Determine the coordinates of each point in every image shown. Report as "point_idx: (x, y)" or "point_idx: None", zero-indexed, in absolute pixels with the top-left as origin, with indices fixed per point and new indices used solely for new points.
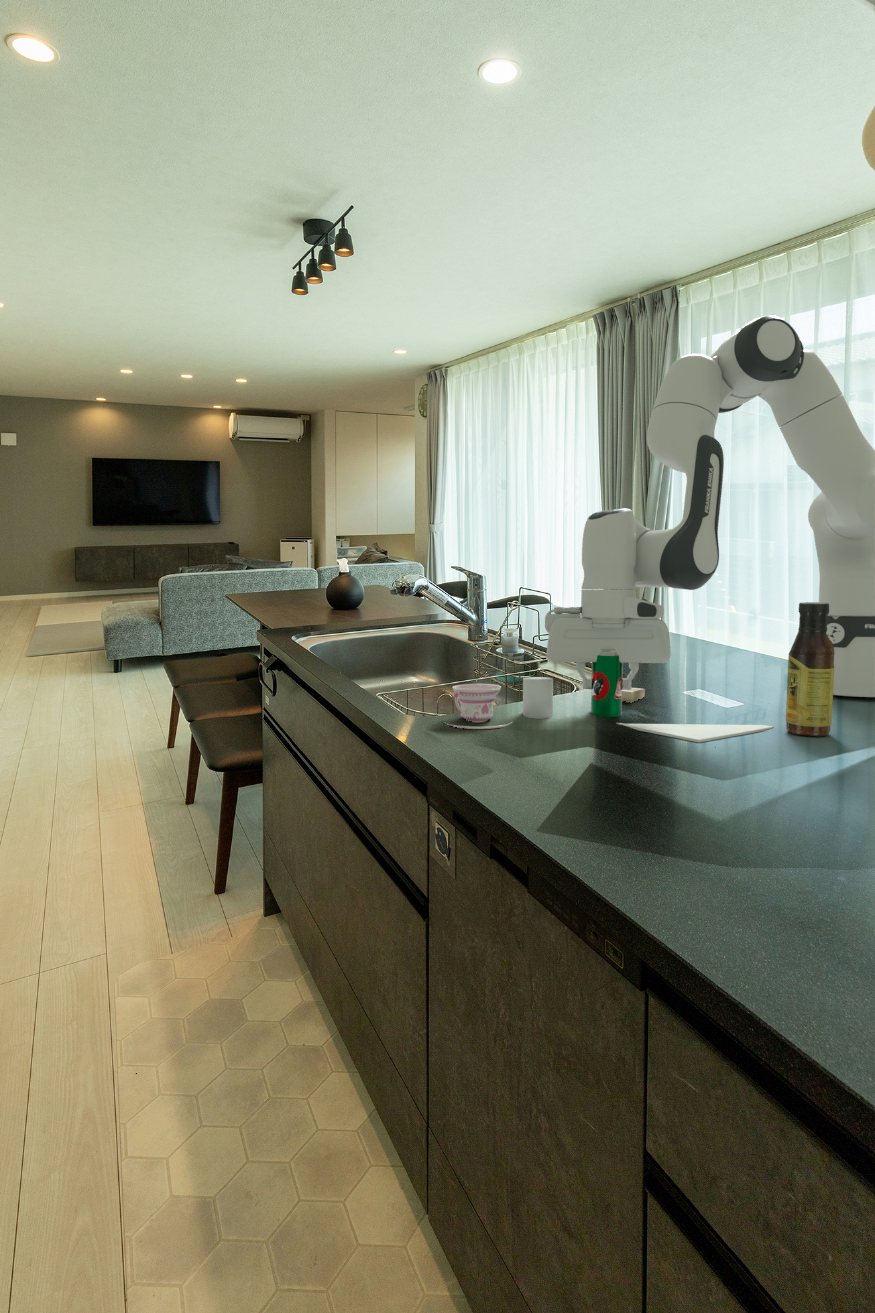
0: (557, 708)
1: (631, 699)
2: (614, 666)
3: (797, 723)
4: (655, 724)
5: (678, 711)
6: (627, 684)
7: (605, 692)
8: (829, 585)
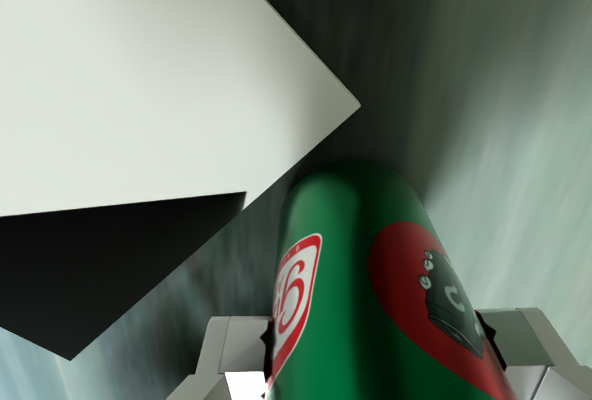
0: None
1: None
2: None
3: None
4: (98, 54)
5: (86, 381)
6: (231, 341)
7: (389, 246)
8: None
